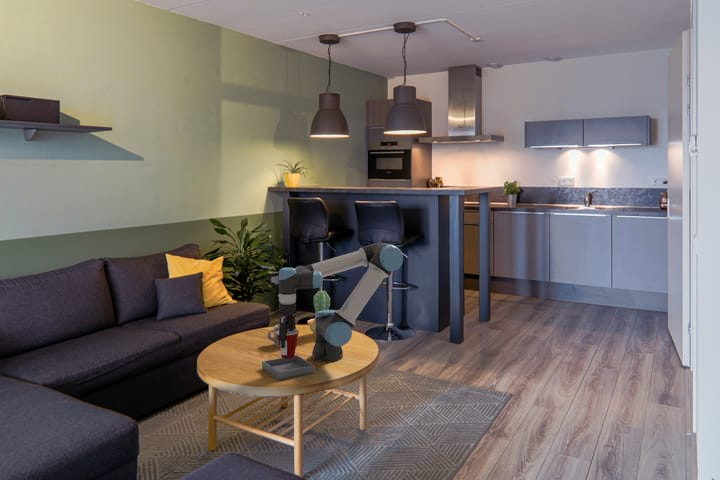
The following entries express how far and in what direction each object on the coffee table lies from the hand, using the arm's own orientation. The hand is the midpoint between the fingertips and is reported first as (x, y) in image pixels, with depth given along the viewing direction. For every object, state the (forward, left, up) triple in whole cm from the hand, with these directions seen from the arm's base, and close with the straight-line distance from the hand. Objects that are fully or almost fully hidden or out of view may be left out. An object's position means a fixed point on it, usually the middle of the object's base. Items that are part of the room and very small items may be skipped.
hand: (287, 351), depth 250 cm
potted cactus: (-40, -42, -9) cm, 59 cm away
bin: (0, 0, -9) cm, 9 cm away
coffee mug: (-14, -38, -9) cm, 42 cm away
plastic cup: (0, 0, -3) cm, 3 cm away
